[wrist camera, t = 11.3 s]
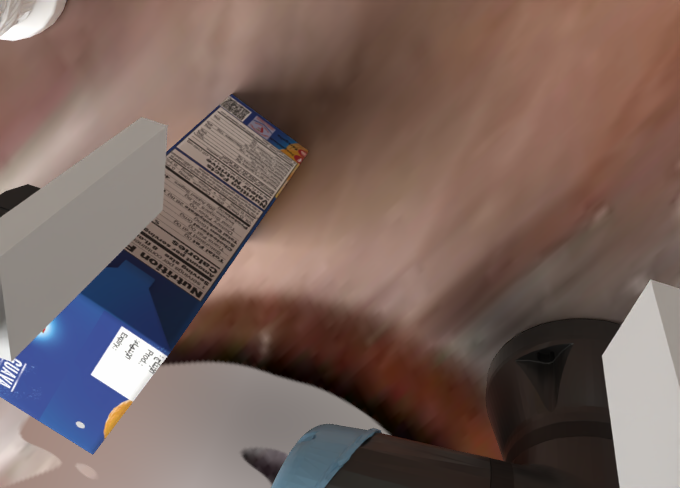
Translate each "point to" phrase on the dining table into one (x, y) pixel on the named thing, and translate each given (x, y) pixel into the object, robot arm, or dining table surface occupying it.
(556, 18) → the dining table surface
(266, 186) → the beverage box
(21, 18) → the decorative container
